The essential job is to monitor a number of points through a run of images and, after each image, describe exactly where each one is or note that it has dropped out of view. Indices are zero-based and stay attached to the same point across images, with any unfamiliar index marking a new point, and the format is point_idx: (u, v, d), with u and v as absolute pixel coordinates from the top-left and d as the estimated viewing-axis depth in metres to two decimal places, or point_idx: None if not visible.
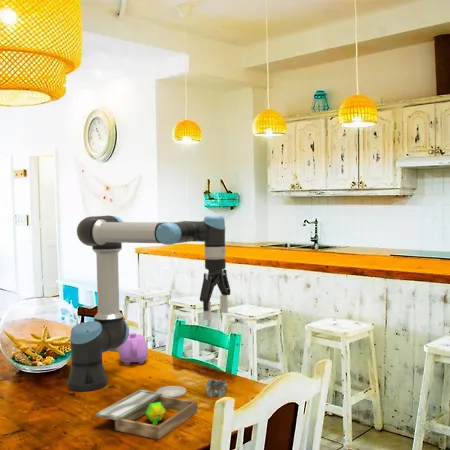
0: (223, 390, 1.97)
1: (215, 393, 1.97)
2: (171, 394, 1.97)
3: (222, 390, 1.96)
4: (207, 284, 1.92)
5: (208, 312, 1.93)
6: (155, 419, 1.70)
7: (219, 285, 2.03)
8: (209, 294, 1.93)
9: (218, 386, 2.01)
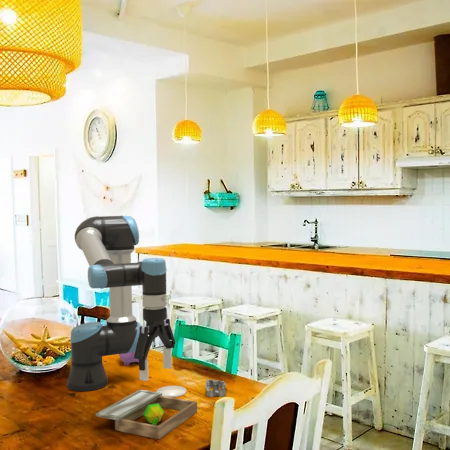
0: (223, 390, 1.97)
1: (215, 393, 1.97)
2: (171, 394, 1.97)
3: (223, 390, 1.96)
4: (143, 339, 1.66)
5: (145, 371, 1.67)
6: (154, 421, 1.69)
7: (161, 337, 1.77)
8: (146, 351, 1.67)
9: (217, 386, 2.01)
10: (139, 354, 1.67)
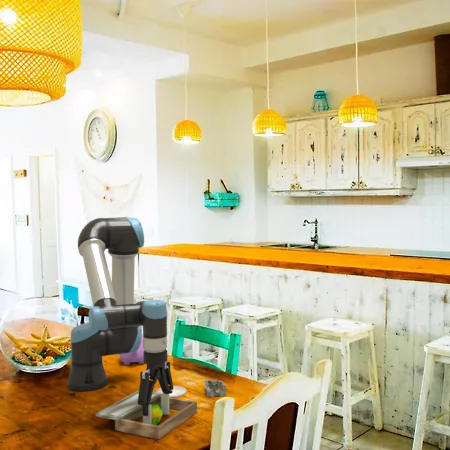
0: (224, 390, 1.97)
1: (216, 393, 1.97)
2: (171, 394, 1.97)
3: (223, 390, 1.97)
4: (145, 385, 1.67)
5: (148, 417, 1.69)
6: (154, 421, 1.68)
7: (160, 381, 1.77)
8: (148, 396, 1.68)
9: (216, 386, 2.01)
10: None
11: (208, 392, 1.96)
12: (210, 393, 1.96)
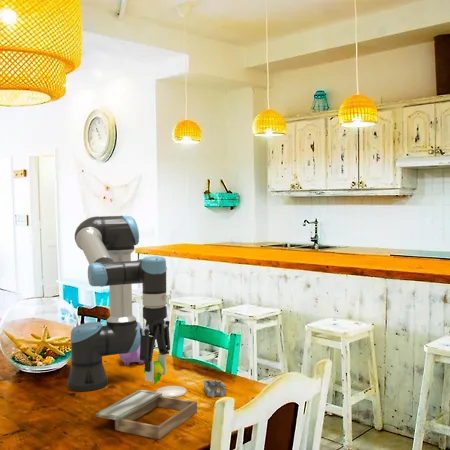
0: (224, 389, 1.97)
1: (216, 393, 1.97)
2: (171, 394, 1.97)
3: (223, 389, 1.97)
4: (146, 342, 1.67)
5: (150, 373, 1.70)
6: (156, 377, 1.70)
7: (158, 339, 1.76)
8: (150, 352, 1.69)
9: (216, 386, 2.01)
10: None
11: (208, 392, 1.96)
12: (211, 393, 1.96)
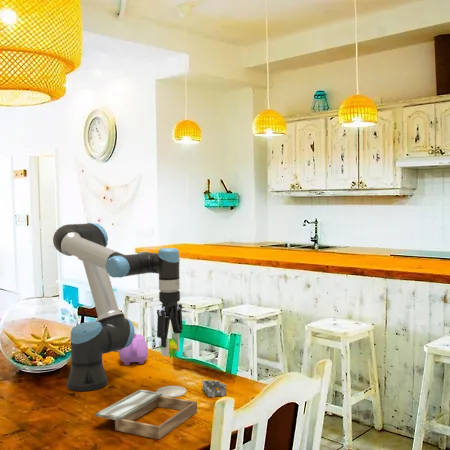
0: (224, 389, 1.97)
1: (216, 393, 1.97)
2: (171, 394, 1.97)
3: (224, 389, 1.97)
4: (162, 321, 1.94)
5: (166, 348, 1.96)
6: (171, 352, 1.96)
7: (172, 320, 2.02)
8: (166, 331, 1.96)
9: (215, 386, 2.01)
10: None
11: (209, 392, 1.96)
12: (211, 393, 1.95)
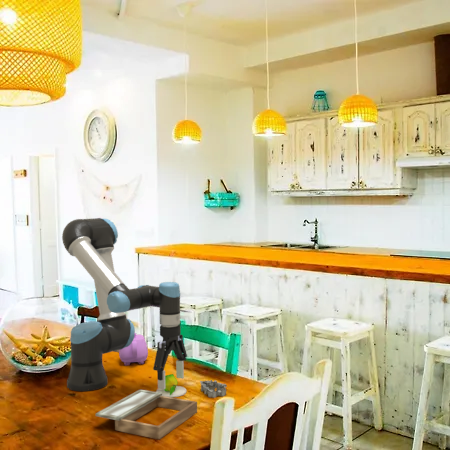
0: (224, 389, 1.98)
1: (217, 393, 1.97)
2: (171, 394, 1.97)
3: (224, 389, 1.97)
4: (161, 353, 1.93)
5: (162, 381, 1.94)
6: (172, 388, 1.97)
7: (175, 351, 2.04)
8: (163, 363, 1.94)
9: (214, 386, 2.01)
10: None
11: (210, 393, 1.96)
12: (212, 394, 1.95)
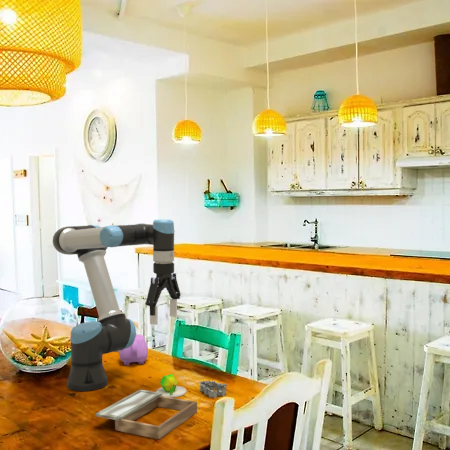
0: (224, 388, 1.98)
1: (217, 393, 1.97)
2: (171, 394, 1.97)
3: (224, 389, 1.98)
4: (154, 288, 1.91)
5: (154, 316, 1.92)
6: (171, 388, 1.97)
7: (168, 289, 2.02)
8: (156, 298, 1.92)
9: (213, 386, 2.01)
10: (150, 301, 1.92)
11: (211, 393, 1.95)
12: (213, 394, 1.95)
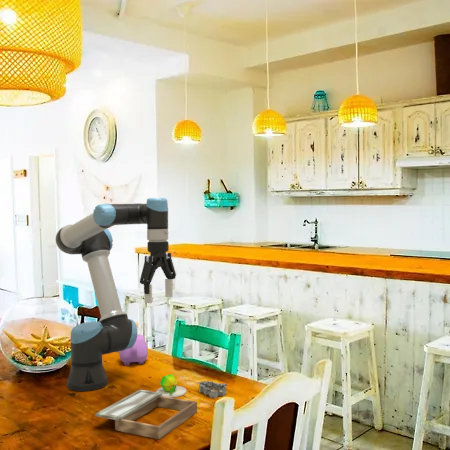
0: (224, 388, 1.98)
1: (218, 393, 1.97)
2: (171, 394, 1.97)
3: (224, 388, 1.98)
4: (148, 266, 1.89)
5: (149, 295, 1.90)
6: (171, 388, 1.96)
7: (163, 268, 2.00)
8: (150, 277, 1.90)
9: (212, 386, 2.01)
10: (144, 280, 1.90)
11: (211, 393, 1.95)
12: (214, 394, 1.95)
